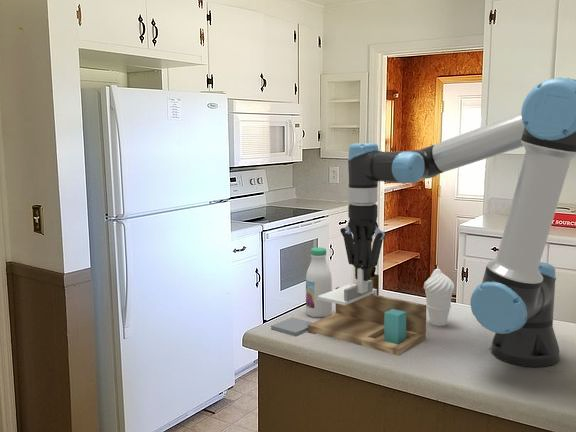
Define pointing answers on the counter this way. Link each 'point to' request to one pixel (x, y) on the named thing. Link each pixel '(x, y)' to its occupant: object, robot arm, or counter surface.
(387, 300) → the brown piece
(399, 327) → the block
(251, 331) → the counter surface
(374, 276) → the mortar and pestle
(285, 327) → the coaster
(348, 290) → the lid
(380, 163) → the robot arm
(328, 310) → the milk bottle
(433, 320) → the soft serve ice cream cone
